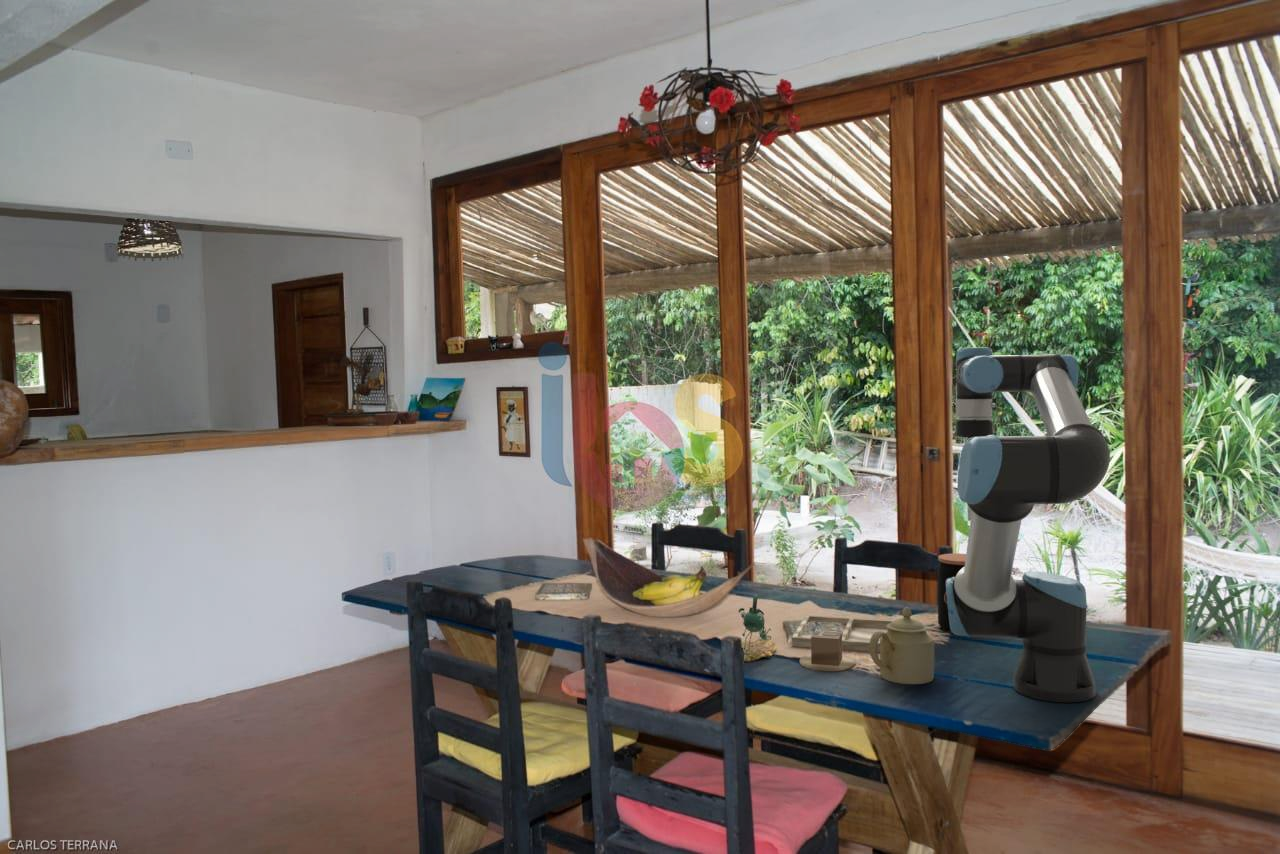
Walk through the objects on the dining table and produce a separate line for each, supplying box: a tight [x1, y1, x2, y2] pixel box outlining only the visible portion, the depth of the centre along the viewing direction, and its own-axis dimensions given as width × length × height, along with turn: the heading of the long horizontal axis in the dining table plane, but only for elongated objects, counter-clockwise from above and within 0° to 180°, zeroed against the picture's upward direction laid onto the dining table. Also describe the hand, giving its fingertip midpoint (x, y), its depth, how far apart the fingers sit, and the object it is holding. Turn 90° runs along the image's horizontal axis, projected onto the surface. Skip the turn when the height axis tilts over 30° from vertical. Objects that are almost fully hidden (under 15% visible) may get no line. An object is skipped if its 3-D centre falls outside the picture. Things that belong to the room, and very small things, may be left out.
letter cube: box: [810, 630, 843, 666], centre depth 216 cm, size 6×6×6 cm
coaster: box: [799, 653, 856, 672], centre depth 217 cm, size 12×12×1 cm
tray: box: [791, 614, 895, 653], centre depth 236 cm, size 22×23×2 cm
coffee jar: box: [937, 553, 966, 633], centre depth 243 cm, size 11×11×18 cm
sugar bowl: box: [869, 606, 935, 685], centre depth 204 cm, size 15×11×15 cm
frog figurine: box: [738, 594, 777, 662], centre depth 225 cm, size 10×18×15 cm, turn 141°
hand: (974, 516), depth 213 cm, fingers open, 13 cm apart
